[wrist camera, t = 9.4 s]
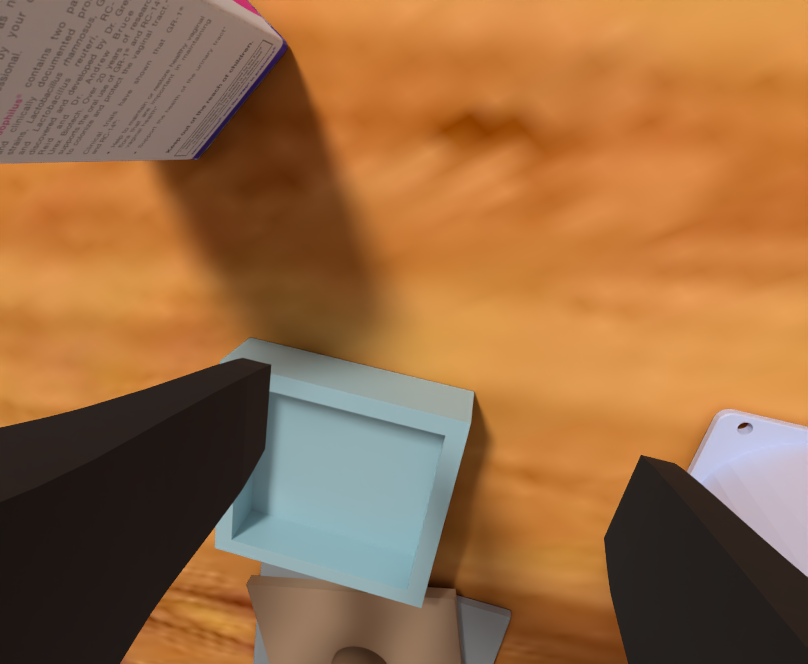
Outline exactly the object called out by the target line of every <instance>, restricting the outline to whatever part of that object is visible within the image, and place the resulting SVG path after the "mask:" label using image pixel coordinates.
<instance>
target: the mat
mask: <svg viewBox="0 0 808 664" xmlns="http://www.w3.org/2000/svg"><path fill="white" fill-rule="evenodd" d="M260 576H272V577H287V578H302V579H316V580H323V579H319V578H316V577H313V576H309V575H306V574H302V573H299V572H295V571H292V570H289V569H285V568H282V567H278V566H275V565H271V564H268V563H265V562H261V574H260ZM456 597H457V607H458V617H459V627H460V637H461V647H462V657H463V664H493V663H494V661H495V658H496V655H497V653H498V650H499V647H500V645H501V642H502V640H503V637H504V634H505V632H506V629H507V626H508V624H509V621H510V618H511V610H507V609H504V608H500V607H497V606H493V605H490V604H486V603H483V602H479V601H476V600H472V599H469V598H465V597H462V596H458V595H456ZM253 664H270V663H269V660H268V656H267V653H266V650H265V646H264V643H263V639H262V636H261V633H260V629H259V626H258V622H257V624H256V637H255V649H254V662H253Z"/></svg>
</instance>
